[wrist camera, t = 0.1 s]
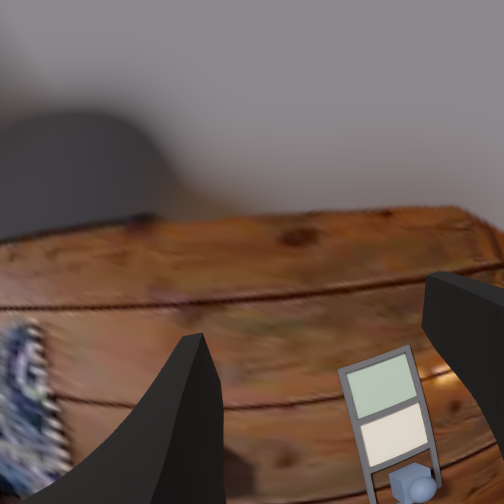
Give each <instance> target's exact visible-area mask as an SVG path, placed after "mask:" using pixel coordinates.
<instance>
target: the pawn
mask: <svg viewBox="0 0 504 504" xmlns="http://www.w3.org/2000/svg"><path fill="white" fill-rule="evenodd" d="M389 478H390V483H391V488H392V494H393V497H395V498H396V499H397V500H399V501H400V502H401V503H403V504H411V503H413V502H415V503H423V502H426V501H428V500H430V499H431V498H432V497H433V496H434V494H435V493H436V490H437V484H436V481H435V480H434V479H433V478H431V472H430V468H428V467H425V466H422V465H420V464H417V463H415V462H414V463H412V464H410V465H408V466H406V467H403V468H401V469H399V470H397V471H394V472H392V473H389Z"/></svg>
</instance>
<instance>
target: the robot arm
mask: <svg viewBox="0 0 504 504" xmlns="http://www.w3.org/2000/svg"><path fill="white" fill-rule="evenodd" d="M421 327H422V328H423V330H424V332H425V333H426V335H427V337H428V338H429V340H430V342H431V343H432V345H433V346H434V348H435V349H436V351H437V352H438V353H439V354H440V356H441V357H442V358H443V359H444V360H445V362H446V363H447V364H448V365H449V367H450V368H451V369H452V370H453V371H454V373H455V374H456V375H457V376H458V378H459V379H460V380H461V381H462V383H463V384H464V385H465V386H466V388H467V389H468V390H469V392H470V393H471V394H472V396H473V397H474V399H475V400H476V402H477V404H478V405H479V407H480V409H481V411H482V412H483V414H484V416H485V418H486V420H487V422H488V424H489V426H490V428H491V430H492V432H493V434H494V436H495V439H496V441H497V444H498V446H499V449H500V452H501V454H502V457H503V460H504V289H503V288H500V287H496V286H493V285H490V284H486V283H483V282H480V281H477V280H474V279H470V278H467V277H464V276H460V275H456V274H452V273H448V272H443V271H439V272H436V273H433V274H430V275H427V276H426V286H425V297H424V308H423V317H422V325H421ZM223 424H224V409H223V399H222V391H221V382H220V379H219V376H218V374H217V371H216V369H215V366H214V363H213V360H212V358H211V355H210V352H209V349H208V347H207V344H206V341H205V338H204V335H203V333H198V334H193V335H188V336H183V337H182V338H181V340H180V341H179V343H178V344H177V346H176V347H175V349H174V351H173V352H172V354H171V355H170V357H169V359H168V360H167V362H166V363H165V365H164V366H163V368H162V370H161V371H160V373H159V374H158V376H157V377H156V379H155V380H154V382H153V383H152V385H151V386H150V388H149V389H148V390H147V392H146V393H145V394H144V396H143V397H142V398H141V400H140V401H139V402H138V404H137V405H136V406H135V408H134V409H133V410H132V412H131V413H130V414H129V415H128V416H127V418H126V419H125V420H124V421H123V422H122V423H121V424H120V425H119V427H118V428H117V429H116V430H115V431H114V432H113V433H112V434H111V435H110V436H109V437H108V438H107V439H106V440H105V441H104V442H103V443H102V444H101V445H100V446H99V447H98V448H96V449H95V450H94V451H93V452H92V453H91V454H90V455H89V456H88V457H87V458H85V459H84V460H83V461H82V462H81V463H80V464H78V465H77V466H76V467H74V468H73V469H72V470H71V471H69V472H68V473H67V474H65V475H64V476H62V477H61V478H59V479H58V480H57V481H55V482H54V483H52V484H51V485H49V486H47V487H46V488H44V489H42V490H41V491H39V492H37V493H35V494H33V495H32V496H30V497H28V498H26V499H24V500H22V501H20V502H18V503H16V504H226V499H225V491H224V481H223Z"/></svg>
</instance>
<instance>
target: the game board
mask: <svg viewBox="0 0 504 504" xmlns="http://www.w3.org/2000/svg"><path fill="white" fill-rule="evenodd" d="M403 352H404V353H403ZM401 353H402V354H401ZM398 354H399V355H398ZM396 355H397V356H396ZM405 355H406V356H405ZM393 356H394V357H393ZM388 358H389V359H388ZM385 359H386V360H385ZM382 360H383V361H382ZM380 361H381V362H380ZM377 362H378V363H377ZM374 363H375V364H374ZM371 364H372V365H371ZM369 365H370V366H369ZM408 365H409V366H408ZM366 366H367V367H366ZM363 367H364V368H363ZM360 368H361V369H360ZM357 369H358V370H357ZM354 370H355V371H354ZM351 371H352V372H351ZM337 372H338V375H339V379H340V383H341V386H342V390H343V394H344V397H345V401H346V405H347V409H348V413H349V417H350V421H351V425H352V429H353V433H354V437H355V441H356V445H357V449H358V453H359V457H360V462H361V466H362V470H363V475H364V479H365V484H366V489H367V493H368V498H369V503H370V504H376V499H375V494H374V489H373V484H372V480H371V475H370V474H371V473H373V472H376V471H379V470H381V469H384V468H386V467H388V466H391V465H393V464H396V463H398V462H400V461H403V460H405V459H407V458H409V457H411V456H413V455H416V454H418V453H420V452H422V451H424V450H426V449H428V448H429V450H430V456H431V461H432V466H433V472H434V478H435V481H436V484H437V489H438V488H440V487H442V482H441V475H440V469H439V463H438V458H437V452H436V447H435V442H434V437H433V433H432V428H431V423H430V419H429V415H428V411H427V407H426V403H425V399H424V395H423V391H422V387H421V384H420V380H419V376H418V373H417V369H416V366H415V363H414V359H413V356H412V353H411V349H410V346H409V344H408V345H406V346H403V347H401V348H398V349H396V350H393V351H390V352H388V353H385V354H382V355H379V356H377V357H374V358H371V359H368V360H365V361H362V362H359V363H356V364H353V365H350V366H347V367H344V368H341V369H338V370H337ZM348 372H349V373H348ZM345 373H346V374H345ZM412 379H413V380H412ZM412 397H413V398H412ZM410 398H411V399H410ZM403 401H404V402H403ZM398 403H399V404H398ZM396 404H397V405H396ZM391 406H392V407H391ZM386 408H387V409H386ZM381 410H382V411H381ZM378 411H379V412H378ZM376 412H377V413H376ZM373 413H374V414H373ZM370 414H371V415H370ZM365 416H366V417H365ZM362 417H363V418H362ZM359 418H360V419H359ZM423 422H424V423H423ZM412 449H413V450H412ZM410 450H411V451H410ZM401 454H402V455H401ZM394 457H395V458H394ZM387 460H388V461H387ZM382 462H383V463H382ZM377 464H378V465H377ZM369 467H370V468H369ZM395 504H403V503H401V502H400V501H399V502H397V503H395Z"/></svg>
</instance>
